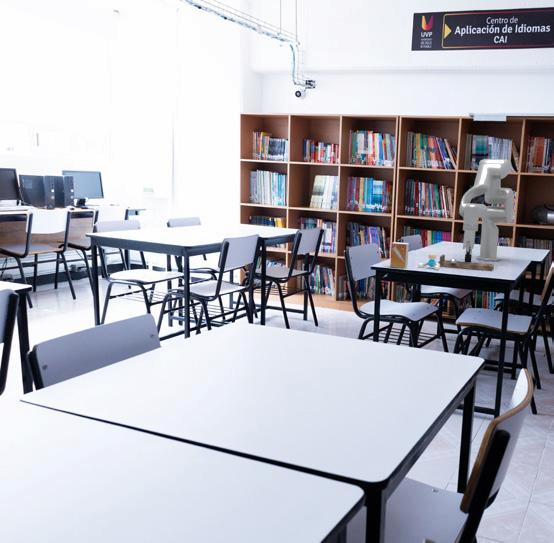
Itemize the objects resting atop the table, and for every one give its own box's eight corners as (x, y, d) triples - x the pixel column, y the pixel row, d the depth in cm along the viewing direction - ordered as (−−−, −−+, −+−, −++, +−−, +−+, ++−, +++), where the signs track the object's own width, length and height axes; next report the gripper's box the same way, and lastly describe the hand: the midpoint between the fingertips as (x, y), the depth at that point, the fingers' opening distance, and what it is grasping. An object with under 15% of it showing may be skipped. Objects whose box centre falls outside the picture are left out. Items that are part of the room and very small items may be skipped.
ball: (450, 267, 360) (448, 259, 361) (458, 265, 358) (456, 257, 359) (449, 267, 356) (447, 259, 357) (457, 265, 354) (455, 257, 355)
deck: (493, 268, 355) (494, 258, 354) (492, 271, 346) (492, 260, 345) (440, 264, 365) (441, 254, 364) (437, 266, 356) (438, 256, 355)
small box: (389, 267, 348) (391, 242, 346) (392, 266, 353) (393, 241, 351) (405, 268, 345) (406, 244, 343) (407, 267, 351) (409, 242, 348)
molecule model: (434, 267, 357) (435, 250, 356) (449, 270, 347) (450, 253, 346) (416, 268, 352) (417, 251, 350) (432, 271, 341) (433, 254, 340)
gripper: (464, 226, 360) (462, 259, 363) (461, 228, 346) (459, 263, 349) (479, 227, 357) (476, 260, 360) (476, 229, 344) (473, 264, 346)
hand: (467, 261), depth 355 cm, fingers closed
